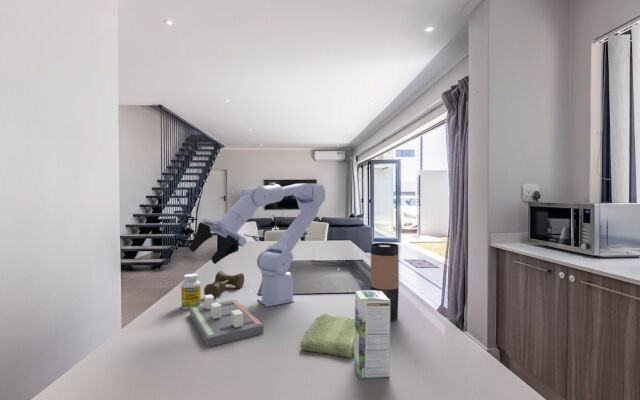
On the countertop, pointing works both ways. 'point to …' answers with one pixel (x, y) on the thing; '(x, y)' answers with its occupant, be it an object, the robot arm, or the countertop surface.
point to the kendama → (223, 283)
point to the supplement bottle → (191, 291)
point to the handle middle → (216, 310)
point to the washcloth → (331, 336)
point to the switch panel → (224, 324)
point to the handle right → (208, 301)
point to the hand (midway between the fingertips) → (201, 255)
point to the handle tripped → (236, 318)
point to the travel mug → (386, 273)
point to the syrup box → (372, 334)
